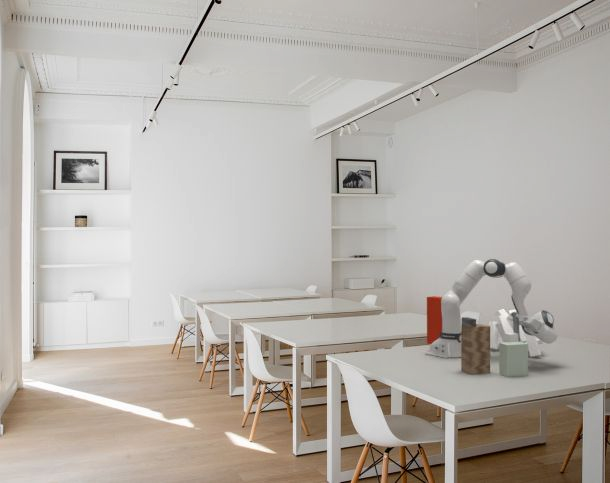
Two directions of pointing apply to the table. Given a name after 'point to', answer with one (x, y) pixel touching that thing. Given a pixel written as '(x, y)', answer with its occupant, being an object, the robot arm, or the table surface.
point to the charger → (516, 335)
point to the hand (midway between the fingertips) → (513, 314)
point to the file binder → (434, 318)
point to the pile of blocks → (507, 327)
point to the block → (513, 359)
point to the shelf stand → (475, 347)
